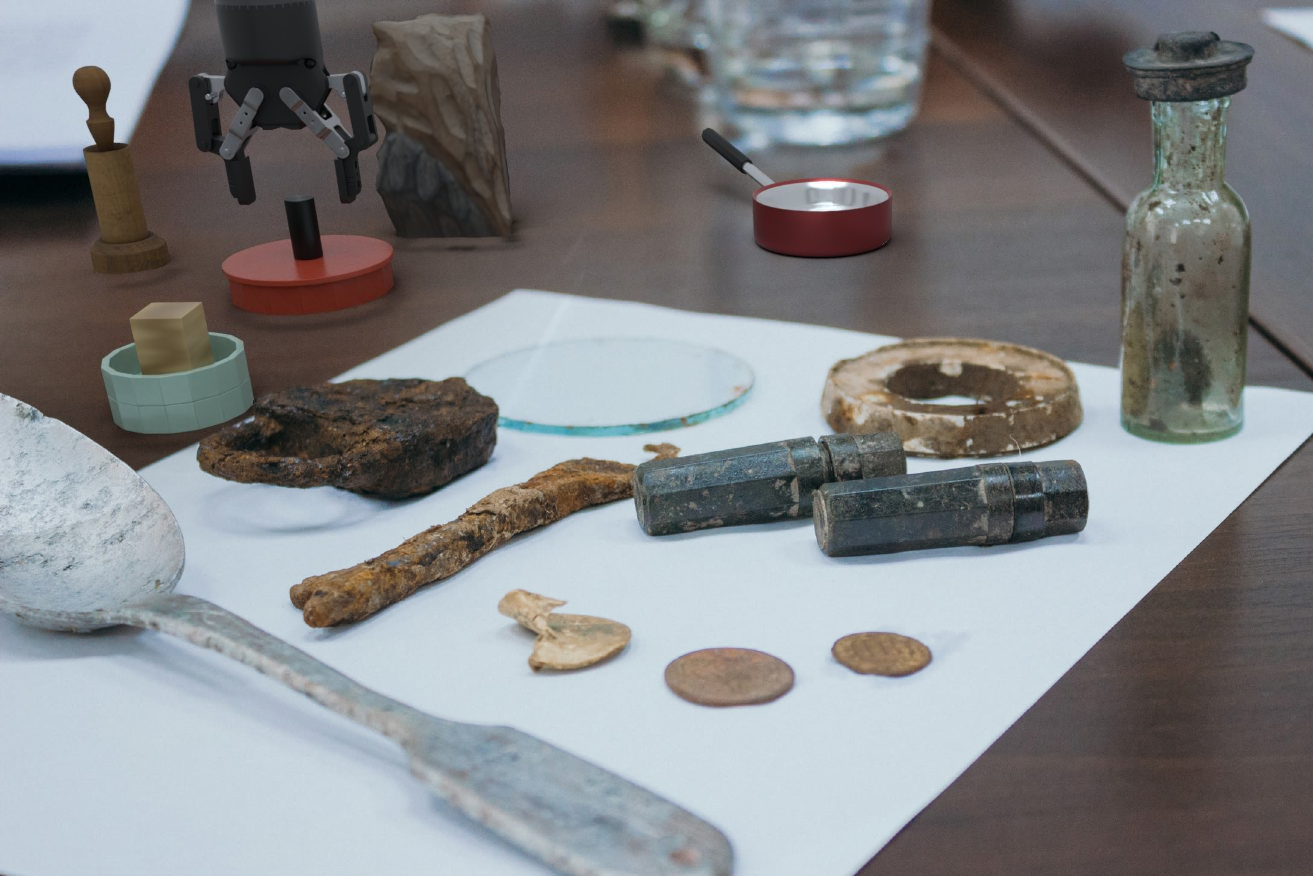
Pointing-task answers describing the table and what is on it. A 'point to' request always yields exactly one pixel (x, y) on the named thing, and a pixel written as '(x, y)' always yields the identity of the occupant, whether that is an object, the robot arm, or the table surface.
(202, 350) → the block
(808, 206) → the frying pan
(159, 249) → the mortar and pestle
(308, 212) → the pan lid
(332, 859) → the table surface
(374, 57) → the two-tone stone chunk
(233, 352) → the bowl
